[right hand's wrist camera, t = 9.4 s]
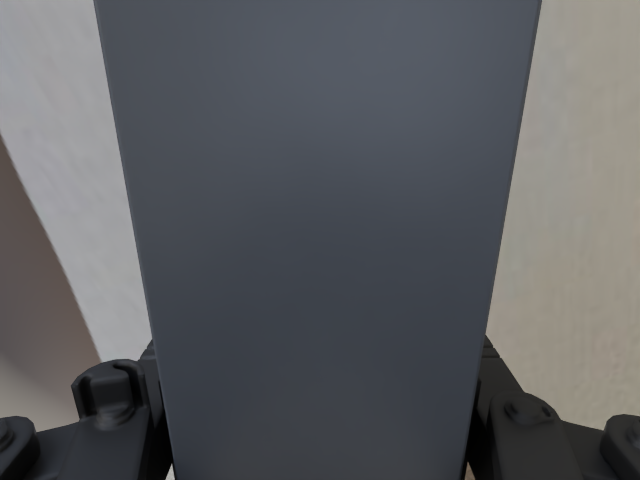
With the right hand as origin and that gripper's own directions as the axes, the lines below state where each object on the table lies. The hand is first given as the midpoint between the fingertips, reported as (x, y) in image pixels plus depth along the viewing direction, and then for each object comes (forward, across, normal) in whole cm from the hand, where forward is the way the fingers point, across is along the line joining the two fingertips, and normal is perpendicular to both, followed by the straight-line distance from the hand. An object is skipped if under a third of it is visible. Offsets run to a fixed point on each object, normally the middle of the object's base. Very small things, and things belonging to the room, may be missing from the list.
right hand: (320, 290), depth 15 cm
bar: (+1, 0, -7) cm, 7 cm away
